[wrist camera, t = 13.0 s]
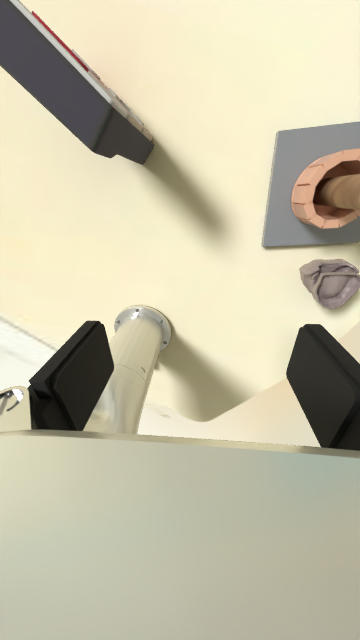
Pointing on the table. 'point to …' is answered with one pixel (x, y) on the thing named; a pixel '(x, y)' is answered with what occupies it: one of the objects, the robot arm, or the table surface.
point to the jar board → (311, 186)
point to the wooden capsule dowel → (338, 192)
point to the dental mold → (330, 281)
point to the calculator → (68, 86)
